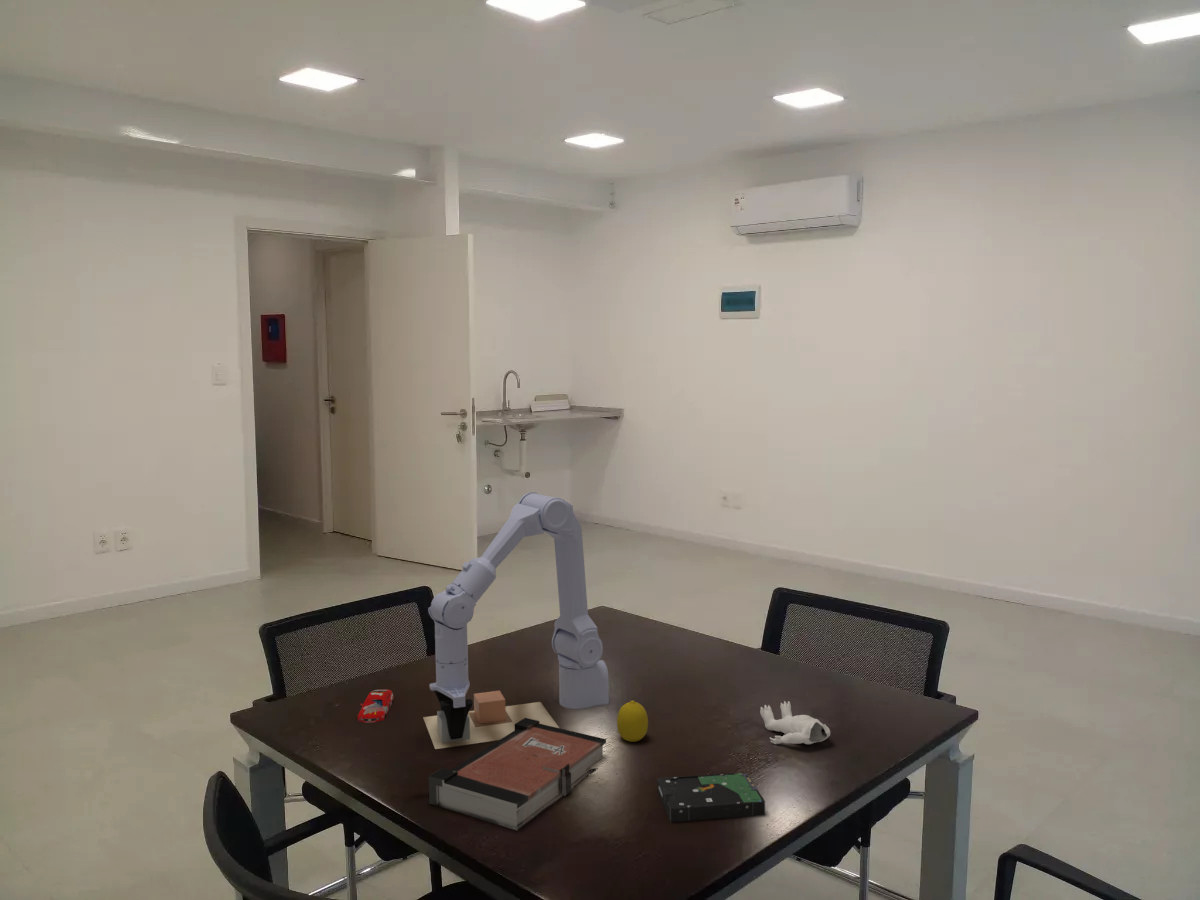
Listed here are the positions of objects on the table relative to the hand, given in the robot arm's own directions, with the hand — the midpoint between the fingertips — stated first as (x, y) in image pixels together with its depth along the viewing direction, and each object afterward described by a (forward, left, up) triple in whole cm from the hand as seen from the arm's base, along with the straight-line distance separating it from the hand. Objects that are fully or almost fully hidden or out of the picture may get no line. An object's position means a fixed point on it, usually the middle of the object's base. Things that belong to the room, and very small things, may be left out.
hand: (453, 732), depth 165 cm
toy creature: (-59, +19, -2) cm, 62 cm away
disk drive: (-34, +36, -2) cm, 49 cm away
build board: (-7, -3, -2) cm, 8 cm away
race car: (+12, -18, -2) cm, 22 cm away
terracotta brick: (-8, -6, -1) cm, 10 cm away
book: (-8, +20, -2) cm, 21 cm away
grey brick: (0, 0, -1) cm, 1 cm away
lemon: (-30, +12, -2) cm, 32 cm away
